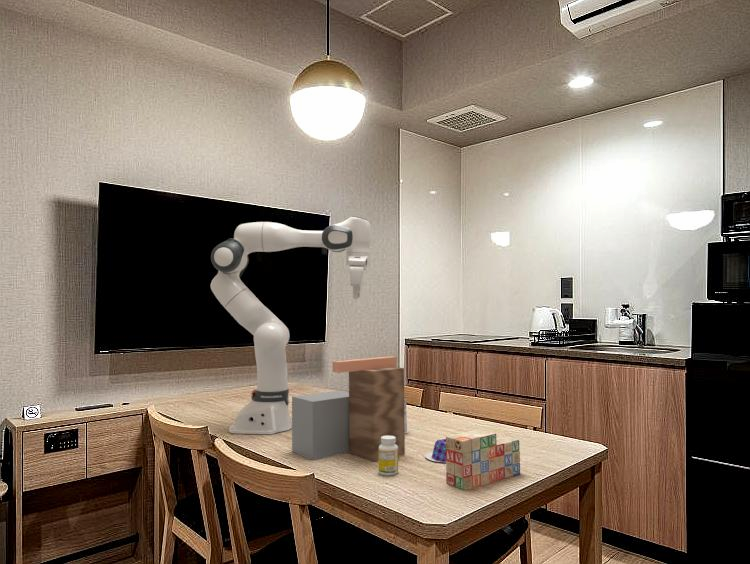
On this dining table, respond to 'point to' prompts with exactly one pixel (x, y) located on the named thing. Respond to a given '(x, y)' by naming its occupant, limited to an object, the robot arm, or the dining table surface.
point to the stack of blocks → (480, 458)
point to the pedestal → (320, 424)
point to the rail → (364, 364)
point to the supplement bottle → (388, 456)
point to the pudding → (438, 451)
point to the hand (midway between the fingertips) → (356, 298)
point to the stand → (376, 410)
